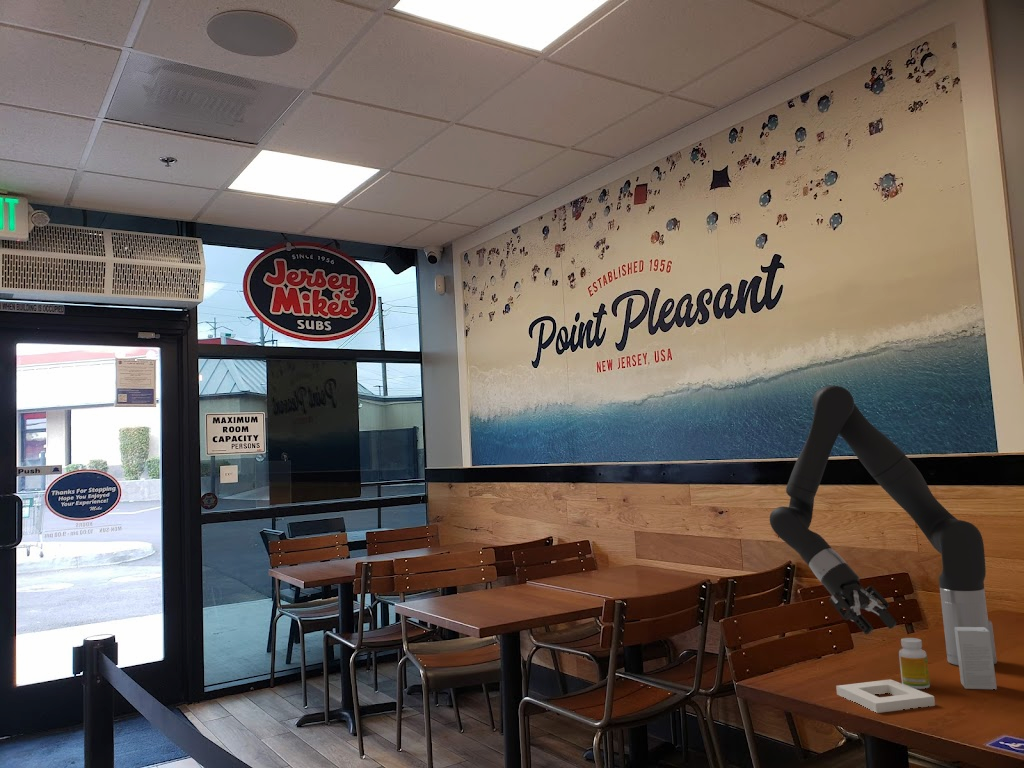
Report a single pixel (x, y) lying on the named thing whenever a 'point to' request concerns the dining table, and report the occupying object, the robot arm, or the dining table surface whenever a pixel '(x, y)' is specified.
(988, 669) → the skincare box
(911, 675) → the supplement bottle
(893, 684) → the hole plate
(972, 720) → the dining table surface
